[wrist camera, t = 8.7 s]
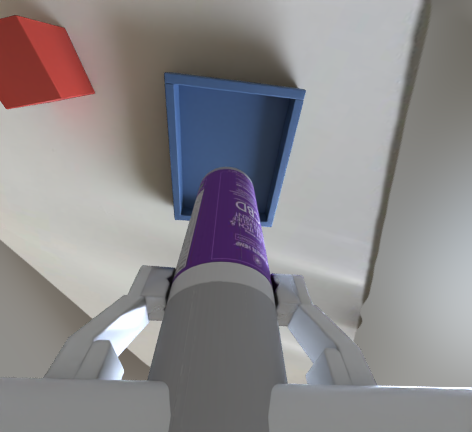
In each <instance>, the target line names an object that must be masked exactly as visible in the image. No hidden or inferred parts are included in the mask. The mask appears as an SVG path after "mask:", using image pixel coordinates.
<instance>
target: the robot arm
mask: <svg viewBox="0 0 472 432" xmlns="http://www.w3.org/2000/svg"><path fill="white" fill-rule="evenodd" d="M175 271H176V269H175V268H171V267H159V266H146V265H143V266H142V267H141V268H140V270H139V272H138V274H137V276H136V278H135V280H134V282H133V284H132V286H131V288H130V291H129V293H128V295H124V296H122V297H121V298H120V299H118V300H117V301H116V302H114V303H113V304H112V305H110V306H109V307H108V308H106V309H105V310H104V311H103V312H101V313H100V314H99V315H97V316H96V317H95V318H93V319H92V320H91V321H89V322H88V323H87V324H85V325H84V326H83V327H81V328H80V329H79V330H78V331H76V332H75V333H74V334H72V335H71V336H70V337H68V339H67V341H66V342H65V344H64V345H63V347H62V349H61V350H60V352H59V354H58V355H57V357H56V358H55V360H54V362H53V363H52V365H51V366H50V368H49V370H48V371H47V373H46V374H45V376H44V378H16V377H0V432H168V431H169V424H170V418H171V412H170V401H169V388H168V386H167V385H166V383H164V382H163V381H145V380H121V378H122V375H123V372H124V370H123V367H122V365H121V363H120V361H119V359H118V356H119V355H120V354H121V352H122V351H123V350H124V349H125V348H126V347H127V346H128V345H129V344H130V342H131V341H132V340H133V339H134V338H135V337H136V336H137V335H138V334H139V333H140V331H141V330H142V329H143V328H144V327H145V326H146V325H147V324H148V323H149V320H156V321H162V320H163V316H164V312H165V308H166V305H167V301H168V297H169V293H170V288H171V285H172V281H173V278H174V274H175ZM270 276H271V282H272V287H273V294H274V300H275V307H276V313H277V319H278V326H288V329H289V330H290V331H291V333H292V334H293V336H294V337H295V338H296V340H297V341H298V343H299V344H300V345H301V347H302V348H303V350H304V351H305V353H306V354H307V355H308V357H309V358H310V360H311V361H312V362H313V366H312V367H311V368H310V370H309V371H308V373H307V374H306V380H307V384H276V385H275V386H274V387H273V388H272V391H271V399H270V407H269V414H268V422H269V432H472V388H442V387H440V388H439V387H400V386H377V383H376V381H375V379H374V377H373V375H372V373H371V370H370V368H369V366H368V364H367V362H366V360H365V358H364V355H363V353H362V351H361V349H360V348H359V347H358V346H357V345H356V344H355V343H354V342H353V341H352V340H351V339H350V338H349V337H348V336H347V335H346V334H345V333H344V332H343V331H342V330H341V329H340V328H339V327H338V326H337V325H336V324H335V323H334V322H333V321H332V320H331V319H330V318H329V317H328V316H327V315H326V314H325V313H324V312H323V311H322V310H321V309H319V308H318V307H317V306H316V305H313V303H312V301H311V298H310V295H309V292H308V289H307V287H306V284H305V281H304V278H303V276H302V275H291V274H273V273H272V274H271V275H270Z"/></svg>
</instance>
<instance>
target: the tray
mask: <svg viewBox="0 0 472 432" xmlns="http://www.w3.org/2000/svg"><path fill="white" fill-rule="evenodd" d="M164 80H165V95H166V109H167V122H168V136H169V149H170V163H171V177H172V190H173V204H174V217H175V220H187V221H190V218H191V215H192V211H193V208H194V204H195V201H196V197H197V194H198V190H199V187H200V184H201V181H202V180H203V178H204V177H205V176H206V175H207V174H208V173H209V172H210V171H212V170H214V169H216V168H220V167H233V168H236V169H239V170H241V171H242V172H244V173H245V174H246V175H247V176H248V177H249V178H250V180H251V182H252V184H253V187H254V192H255V197H256V202H257V208H258V213H259V218H260V224H261V226H265V227H272V223H273V219H274V215H275V211H276V208H277V204H278V200H279V196H280V192H281V188H282V184H283V180H284V176H285V172H286V168H287V164H288V160H289V156H290V152H291V148H292V144H293V140H294V136H295V132H296V128H297V124H298V120H299V116H300V112H301V109H302V105H303V99H304V96H305V92H306V90H304V89H300V88H293V87H285V86H277V85H269V84H261V83H253V82H245V81H237V80H229V79H221V78H213V77H205V76H197V75H189V74H181V73H173V72H165V73H164Z"/></svg>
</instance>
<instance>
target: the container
mask: <svg viewBox="0 0 472 432" xmlns="http://www.w3.org/2000/svg"><path fill="white" fill-rule="evenodd" d="M147 381H163V382H164V383H166V385H167V386H168V388H169V401H170V412H171V418H170V424H169V431H168V432H269V422H268V414H269V407H270V399H271V391H272V388H273V387H274V386H275V385H276V384H288V383H287V377H286V370H285V364H284V358H283V351H282V345H281V338H280V332H279V326H278V319H277V313H276V307H275V300H274V294H273V287H272V282H271V276H270V271H269V266H268V260H267V255H266V250H265V245H264V239H263V234H262V229H261V224H260V218H259V213H258V208H257V202H256V197H255V192H254V187H253V184H252V182H251V180H250V178H249V177H248V176H247V175H246V174H245V173H244V172H242V171H241V170H239V169H236V168H233V167H220V168H216V169H214V170H212V171H210V172H209V173H208V174H207V175H206V176H205V177H204V178H203V180H202V181H201V184H200V187H199V190H198V194H197V197H196V201H195V204H194V208H193V211H192V215H191V218H190V222H189V225H188V229H187V232H186V236H185V239H184V243H183V246H182V250H181V253H180V257H179V260H178V264H177V267H176V271H175V274H174V278H173V281H172V285H171V288H170V293H169V297H168V301H167V305H166V308H165V312H164V316H163V320H162V324H161V328H160V332H159V336H158V340H157V344H156V348H155V352H154V356H153V360H152V364H151V368H150V372H149V376H148V380H147Z"/></svg>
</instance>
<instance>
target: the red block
mask: <svg viewBox="0 0 472 432" xmlns="http://www.w3.org/2000/svg"><path fill="white" fill-rule="evenodd" d="M90 94H95V92H94V90H93V88H92V85H91V83H90V81H89V79H88V77H87V75H86V73H85V70H84V68H83V66H82V64H81V62H80V60H79V58H78V55H77V53H76V51H75V49H74V47H73V45H72V43H71V40H70V38H69V36H68V34H67V32H66V30H65V28H63V27H59V26H55V25H51V24H47V23H44V22H40V21H36V20H32V19H29V18H25V17H21V16H17V15H14V16H10V17H5V18H1V19H0V101H1V102H2V104H3V105H4V107H5V108H6V109H12V108H18V107H24V106H30V105H36V104H42V103H49V102H54V101H59V100H64V99H69V98H75V97H80V96H85V95H90Z"/></svg>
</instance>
